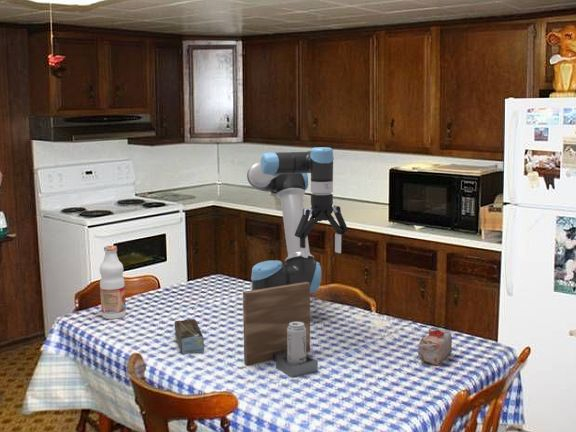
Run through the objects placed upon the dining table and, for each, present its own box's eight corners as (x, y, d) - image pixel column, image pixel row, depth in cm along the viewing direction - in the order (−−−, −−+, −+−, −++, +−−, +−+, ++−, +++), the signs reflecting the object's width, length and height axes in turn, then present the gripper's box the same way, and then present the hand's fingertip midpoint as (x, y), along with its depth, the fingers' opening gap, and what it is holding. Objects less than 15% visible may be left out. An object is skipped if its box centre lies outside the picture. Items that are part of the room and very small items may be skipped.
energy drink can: (304, 373, 218) (304, 327, 216) (285, 372, 219) (285, 326, 217) (307, 366, 224) (307, 321, 221) (289, 365, 225) (289, 320, 223)
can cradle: (266, 361, 229) (266, 351, 228) (291, 355, 233) (291, 345, 233) (291, 377, 215) (291, 366, 215) (317, 371, 220) (317, 360, 219)
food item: (439, 368, 222) (440, 338, 221) (415, 363, 226) (416, 334, 225) (453, 354, 234) (454, 326, 232) (430, 350, 238) (431, 322, 236)
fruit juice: (98, 315, 278) (94, 246, 273) (120, 310, 284) (117, 243, 279) (107, 321, 271) (103, 250, 266) (129, 316, 276) (126, 247, 271)
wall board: (244, 363, 227) (243, 291, 223) (306, 349, 239) (306, 281, 235) (247, 365, 225) (245, 293, 221) (309, 351, 237) (309, 282, 233)
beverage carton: (181, 355, 235) (180, 336, 234) (174, 337, 253) (173, 319, 252) (204, 353, 237) (204, 334, 236) (196, 334, 255) (195, 317, 254)
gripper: (296, 197, 227) (296, 261, 230) (358, 192, 239) (357, 252, 243) (284, 194, 233) (284, 256, 237) (345, 189, 246) (345, 248, 249)
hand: (321, 254), depth 240 cm, fingers open, 13 cm apart
